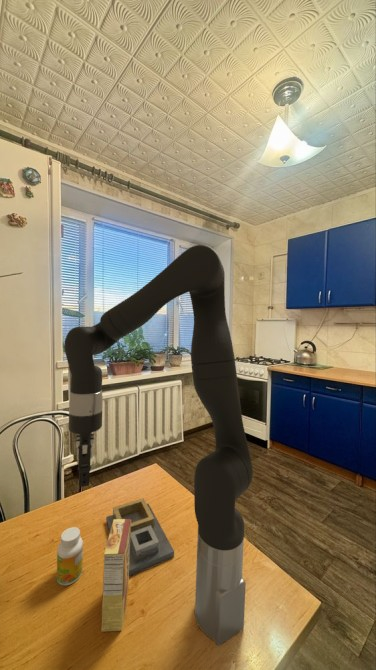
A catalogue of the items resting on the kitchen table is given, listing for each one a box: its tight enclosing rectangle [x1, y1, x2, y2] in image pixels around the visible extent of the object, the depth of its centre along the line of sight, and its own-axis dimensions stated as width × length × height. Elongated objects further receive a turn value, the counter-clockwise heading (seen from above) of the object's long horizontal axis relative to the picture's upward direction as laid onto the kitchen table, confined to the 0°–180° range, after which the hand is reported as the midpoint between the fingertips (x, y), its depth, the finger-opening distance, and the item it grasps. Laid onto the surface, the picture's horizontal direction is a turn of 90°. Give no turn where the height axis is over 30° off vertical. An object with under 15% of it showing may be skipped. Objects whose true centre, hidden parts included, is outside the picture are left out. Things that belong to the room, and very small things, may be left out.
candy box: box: [101, 519, 131, 633], centre depth 52 cm, size 9×4×15 cm, turn 6°
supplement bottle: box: [56, 526, 84, 586], centre depth 59 cm, size 5×5×10 cm
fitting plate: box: [105, 498, 175, 578], centre depth 69 cm, size 19×13×4 cm
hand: (84, 474), depth 62 cm, fingers open, 8 cm apart
